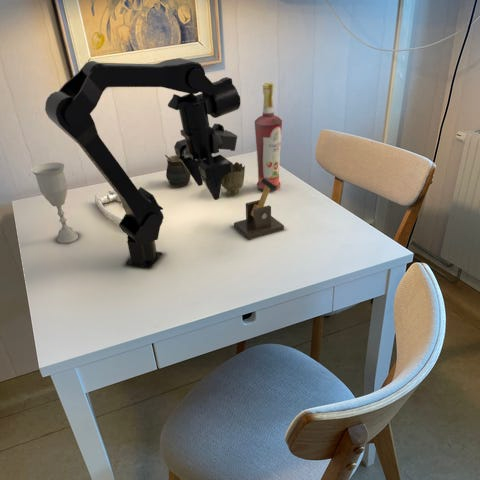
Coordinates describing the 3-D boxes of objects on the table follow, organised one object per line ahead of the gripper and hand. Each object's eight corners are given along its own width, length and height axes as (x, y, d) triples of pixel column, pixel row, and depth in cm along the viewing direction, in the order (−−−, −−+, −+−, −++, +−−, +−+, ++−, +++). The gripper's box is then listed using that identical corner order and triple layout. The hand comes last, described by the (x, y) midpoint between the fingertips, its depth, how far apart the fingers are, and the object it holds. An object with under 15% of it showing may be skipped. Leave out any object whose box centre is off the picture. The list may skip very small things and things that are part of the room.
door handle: (119, 194, 144) (162, 223, 127) (88, 204, 139) (128, 235, 123) (117, 186, 142) (160, 214, 126) (85, 195, 137) (126, 225, 121)
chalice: (52, 246, 120) (30, 175, 109) (53, 234, 125) (32, 164, 114) (83, 241, 121) (64, 170, 110) (82, 229, 126) (64, 160, 115)
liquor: (267, 195, 139) (266, 88, 122) (250, 188, 143) (247, 84, 126) (286, 188, 142) (288, 83, 125) (269, 181, 147) (269, 79, 130)
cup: (216, 191, 142) (214, 164, 137) (239, 186, 145) (237, 159, 140) (226, 201, 137) (224, 173, 132) (250, 195, 139) (249, 168, 134)
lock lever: (270, 184, 115) (278, 186, 116) (260, 177, 118) (268, 179, 120) (257, 220, 118) (265, 221, 120) (247, 212, 122) (255, 214, 123)
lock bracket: (248, 239, 119) (247, 215, 115) (233, 226, 124) (232, 203, 120) (284, 229, 122) (284, 206, 118) (268, 217, 128) (268, 194, 124)
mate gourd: (196, 182, 149) (193, 149, 143) (181, 191, 144) (177, 157, 138) (177, 178, 152) (173, 145, 146) (162, 186, 147) (157, 153, 141)
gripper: (249, 125, 100) (257, 195, 110) (211, 104, 113) (221, 168, 123) (200, 141, 97) (213, 211, 107) (166, 117, 110) (181, 182, 120)
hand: (208, 192), depth 114 cm, fingers open, 9 cm apart
